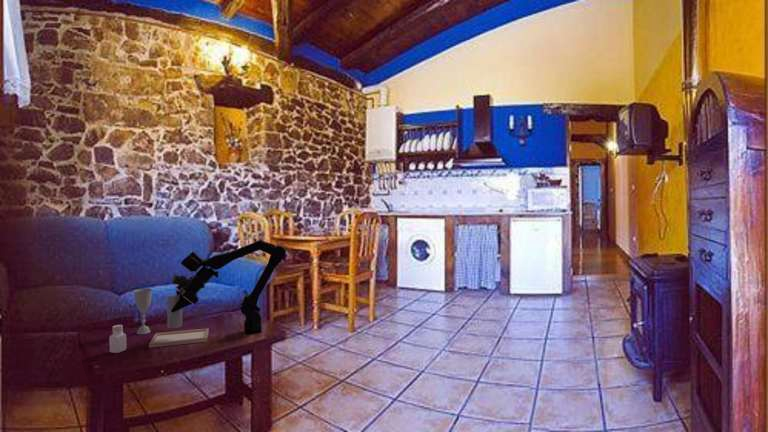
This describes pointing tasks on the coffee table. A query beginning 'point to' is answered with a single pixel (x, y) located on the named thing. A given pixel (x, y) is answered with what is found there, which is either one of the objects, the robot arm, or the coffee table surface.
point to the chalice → (143, 306)
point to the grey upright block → (174, 317)
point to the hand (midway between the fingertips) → (170, 310)
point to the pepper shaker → (117, 339)
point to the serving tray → (179, 337)
